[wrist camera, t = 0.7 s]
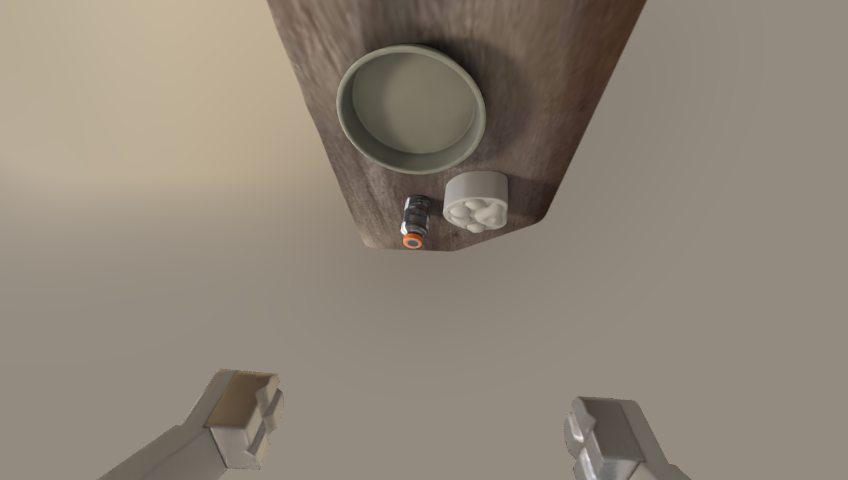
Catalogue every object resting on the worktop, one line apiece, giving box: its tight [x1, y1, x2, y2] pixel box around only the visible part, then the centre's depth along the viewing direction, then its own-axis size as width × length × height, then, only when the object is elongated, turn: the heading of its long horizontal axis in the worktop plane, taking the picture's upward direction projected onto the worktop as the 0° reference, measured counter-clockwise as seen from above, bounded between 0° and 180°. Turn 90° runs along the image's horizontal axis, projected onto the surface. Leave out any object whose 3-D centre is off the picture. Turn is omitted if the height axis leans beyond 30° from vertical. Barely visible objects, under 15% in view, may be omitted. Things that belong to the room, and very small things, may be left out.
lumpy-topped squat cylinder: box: [443, 171, 508, 233], centre depth 75 cm, size 10×13×9 cm
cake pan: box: [337, 43, 486, 174], centre depth 61 cm, size 25×25×4 cm
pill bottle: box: [401, 196, 431, 248], centre depth 81 cm, size 6×6×11 cm
